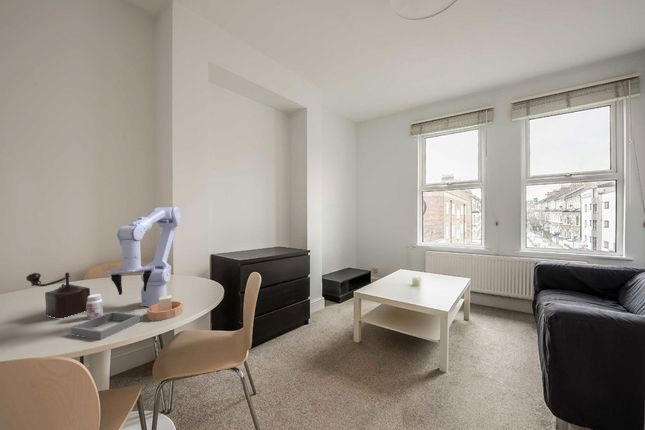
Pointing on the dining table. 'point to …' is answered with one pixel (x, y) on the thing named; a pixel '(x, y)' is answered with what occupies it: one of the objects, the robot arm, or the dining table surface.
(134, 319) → the tray
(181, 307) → the bowl
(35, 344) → the dining table surface
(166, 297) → the sandstone block
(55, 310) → the manual coffee grinder
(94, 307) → the pill bottle
